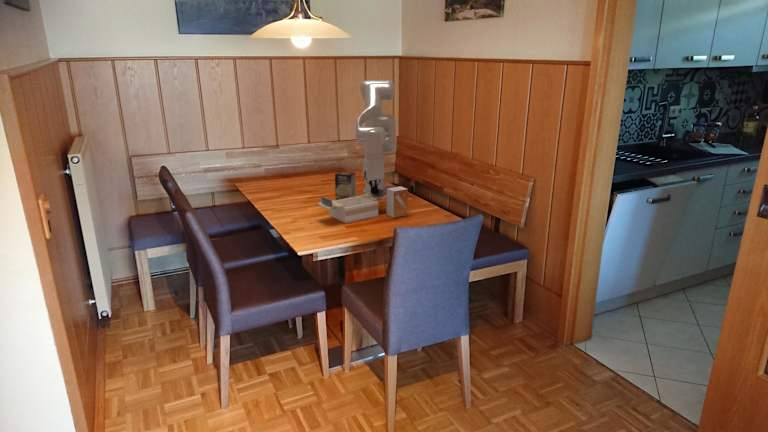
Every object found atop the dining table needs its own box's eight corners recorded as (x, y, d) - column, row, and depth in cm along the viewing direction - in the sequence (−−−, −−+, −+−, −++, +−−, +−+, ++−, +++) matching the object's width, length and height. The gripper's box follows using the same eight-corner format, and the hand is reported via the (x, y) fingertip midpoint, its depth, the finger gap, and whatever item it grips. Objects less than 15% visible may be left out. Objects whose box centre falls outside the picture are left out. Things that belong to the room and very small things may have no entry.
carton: (361, 209, 252) (361, 195, 250) (378, 216, 241) (378, 201, 239) (329, 215, 241) (329, 201, 239) (345, 223, 231) (345, 208, 228)
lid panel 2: (374, 200, 239) (374, 193, 238) (361, 195, 248) (361, 188, 246) (389, 197, 244) (389, 190, 243) (375, 193, 252) (375, 185, 251)
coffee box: (335, 204, 260) (333, 173, 255) (340, 201, 265) (339, 171, 261) (351, 206, 257) (351, 175, 252) (356, 203, 262) (355, 172, 258)
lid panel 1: (332, 201, 238) (332, 193, 237) (344, 206, 230) (344, 198, 229) (316, 204, 234) (315, 196, 233) (328, 209, 225) (328, 202, 224)
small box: (393, 218, 238) (393, 191, 234) (386, 214, 243) (386, 188, 239) (407, 215, 242) (408, 188, 238) (400, 212, 247) (400, 185, 243)
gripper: (382, 153, 247) (382, 189, 252) (356, 156, 238) (356, 194, 244) (391, 155, 241) (391, 193, 246) (365, 159, 233) (365, 198, 238)
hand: (374, 193), depth 245 cm, fingers closed
